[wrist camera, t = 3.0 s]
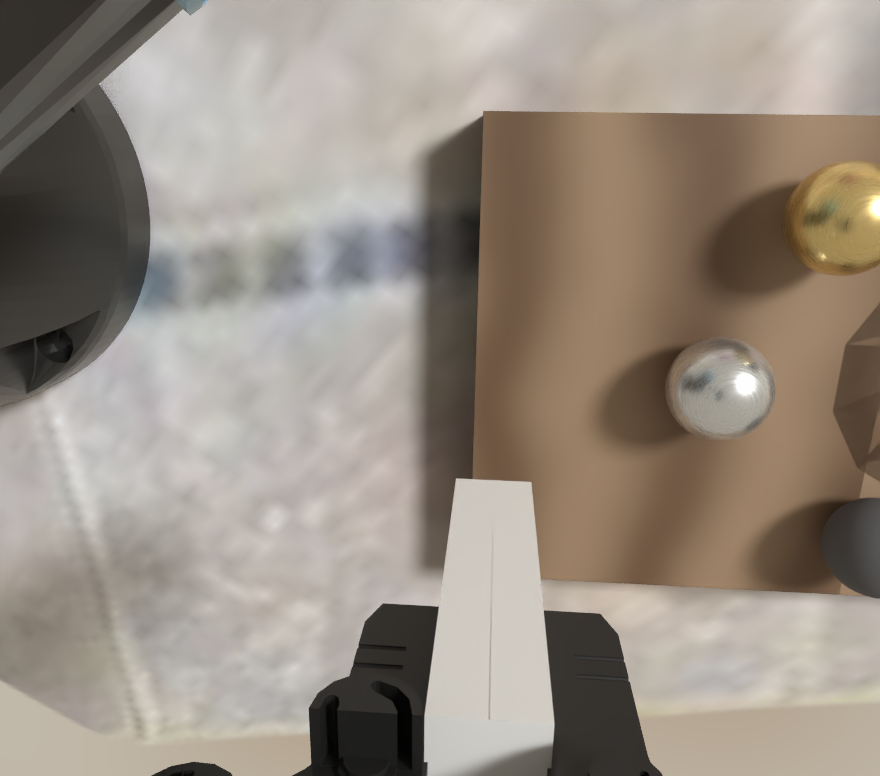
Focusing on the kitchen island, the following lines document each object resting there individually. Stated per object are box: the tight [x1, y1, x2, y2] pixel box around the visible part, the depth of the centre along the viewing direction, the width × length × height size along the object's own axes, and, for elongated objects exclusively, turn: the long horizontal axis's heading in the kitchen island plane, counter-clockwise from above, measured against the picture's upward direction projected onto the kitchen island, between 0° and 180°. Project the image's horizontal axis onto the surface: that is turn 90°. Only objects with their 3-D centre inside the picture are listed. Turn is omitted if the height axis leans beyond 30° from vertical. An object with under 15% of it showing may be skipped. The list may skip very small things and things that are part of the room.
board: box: [472, 111, 880, 596], centre depth 27 cm, size 22×17×2 cm
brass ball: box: [783, 160, 880, 276], centre depth 22 cm, size 3×3×3 cm
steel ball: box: [665, 337, 776, 441], centre depth 24 cm, size 3×3×3 cm
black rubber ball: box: [821, 498, 880, 598], centre depth 26 cm, size 3×3×3 cm
